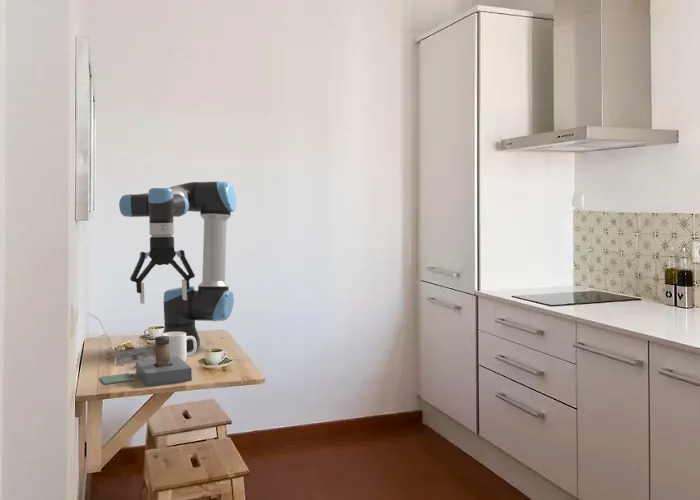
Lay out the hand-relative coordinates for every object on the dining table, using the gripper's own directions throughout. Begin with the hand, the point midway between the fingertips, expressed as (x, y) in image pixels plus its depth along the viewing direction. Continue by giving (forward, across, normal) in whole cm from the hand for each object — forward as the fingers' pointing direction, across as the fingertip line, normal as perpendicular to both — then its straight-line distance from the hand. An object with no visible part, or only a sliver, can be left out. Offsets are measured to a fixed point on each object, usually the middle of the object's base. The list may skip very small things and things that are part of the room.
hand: (163, 301), depth 222 cm
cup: (+25, +10, +18) cm, 32 cm away
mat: (+25, -15, +4) cm, 29 cm away
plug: (+25, -1, 0) cm, 25 cm away
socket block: (+25, -1, 0) cm, 25 cm away
